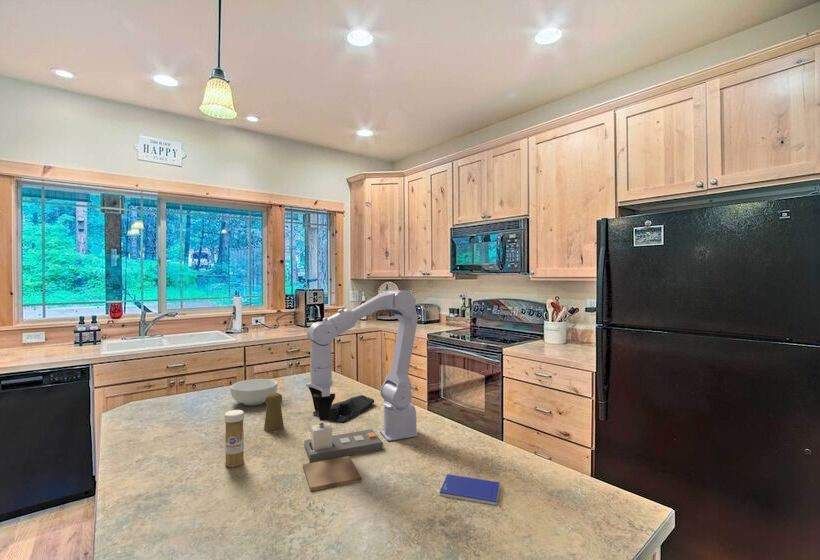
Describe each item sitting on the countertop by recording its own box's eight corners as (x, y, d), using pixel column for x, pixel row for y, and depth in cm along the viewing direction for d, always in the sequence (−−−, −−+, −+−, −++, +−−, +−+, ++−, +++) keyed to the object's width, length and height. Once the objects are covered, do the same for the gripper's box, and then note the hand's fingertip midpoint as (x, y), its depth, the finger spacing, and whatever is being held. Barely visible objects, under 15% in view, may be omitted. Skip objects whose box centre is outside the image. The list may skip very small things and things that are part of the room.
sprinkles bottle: (225, 469, 101) (224, 416, 101) (225, 461, 105) (224, 410, 105) (244, 465, 103) (244, 413, 102) (244, 458, 107) (243, 408, 107)
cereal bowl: (268, 409, 145) (268, 390, 144) (222, 409, 145) (222, 390, 145) (283, 395, 162) (283, 378, 161) (242, 395, 162) (242, 378, 162)
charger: (329, 447, 113) (329, 419, 113) (332, 453, 110) (332, 424, 109) (311, 450, 111) (311, 422, 111) (313, 456, 108) (313, 427, 107)
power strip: (372, 435, 121) (372, 427, 121) (382, 449, 112) (382, 440, 112) (304, 447, 113) (304, 438, 113) (309, 462, 104) (309, 452, 104)
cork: (277, 432, 124) (277, 397, 124) (260, 431, 125) (259, 396, 125) (287, 425, 130) (287, 391, 130) (270, 424, 131) (270, 390, 131)
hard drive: (439, 490, 89) (496, 500, 85) (447, 473, 96) (499, 481, 93) (439, 497, 89) (496, 507, 85) (447, 479, 97) (499, 487, 93)
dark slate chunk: (381, 406, 149) (381, 394, 149) (340, 426, 130) (340, 411, 130) (350, 399, 157) (350, 387, 157) (307, 417, 139) (307, 403, 139)
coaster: (349, 458, 106) (349, 455, 106) (361, 480, 95) (361, 477, 95) (303, 467, 102) (302, 464, 102) (310, 491, 91) (310, 487, 91)
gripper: (302, 362, 115) (302, 408, 115) (310, 373, 102) (310, 426, 102) (327, 359, 118) (327, 405, 118) (337, 371, 104) (338, 422, 105)
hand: (321, 415), depth 110 cm, fingers open, 7 cm apart
